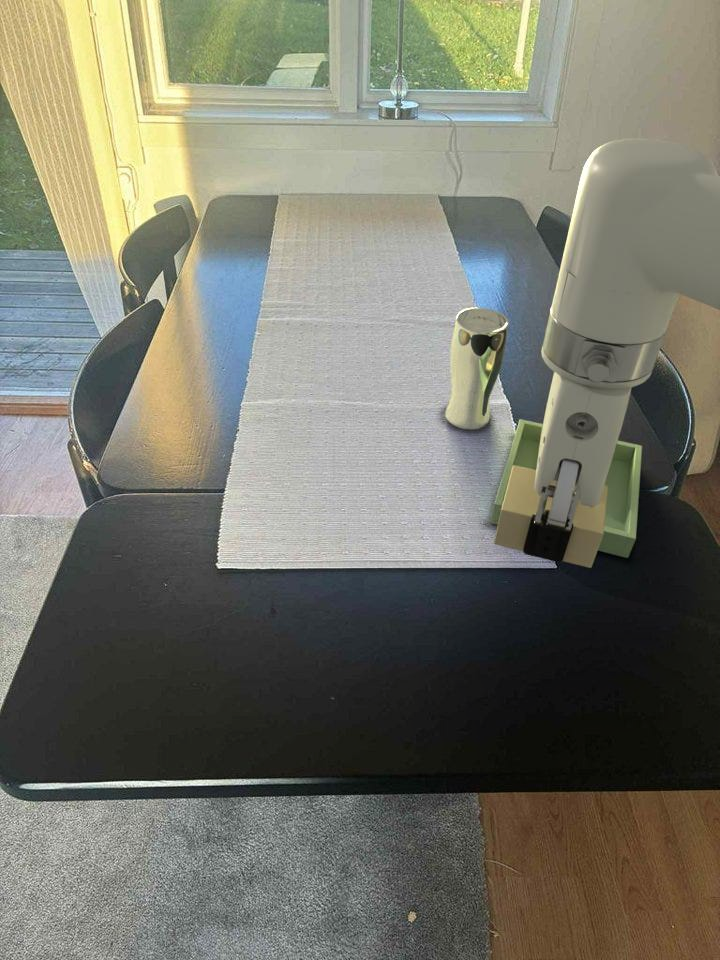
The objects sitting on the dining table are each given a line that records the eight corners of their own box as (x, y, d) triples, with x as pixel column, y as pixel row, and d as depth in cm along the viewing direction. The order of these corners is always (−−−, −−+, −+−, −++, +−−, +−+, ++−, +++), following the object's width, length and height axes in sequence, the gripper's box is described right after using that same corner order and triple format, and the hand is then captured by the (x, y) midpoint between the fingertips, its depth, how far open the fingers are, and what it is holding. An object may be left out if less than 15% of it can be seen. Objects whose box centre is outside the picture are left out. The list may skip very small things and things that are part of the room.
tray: (635, 464, 91) (642, 445, 89) (627, 558, 78) (636, 539, 76) (515, 437, 94) (519, 418, 92) (490, 523, 82) (494, 503, 80)
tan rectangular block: (596, 520, 61) (608, 485, 58) (591, 568, 57) (603, 533, 54) (505, 498, 63) (512, 464, 60) (493, 544, 59) (501, 509, 56)
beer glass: (502, 417, 98) (521, 320, 88) (472, 438, 94) (488, 339, 84) (462, 396, 101) (476, 301, 91) (431, 416, 97) (443, 319, 88)
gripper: (657, 423, 41) (583, 617, 52) (659, 296, 53) (599, 476, 65) (528, 397, 42) (485, 590, 54) (559, 280, 55) (518, 458, 67)
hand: (547, 526), depth 59 cm, fingers closed on tan rectangular block, 6 cm apart
